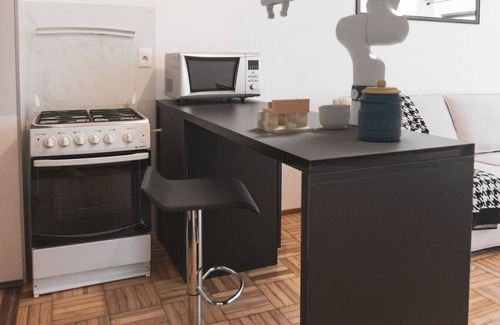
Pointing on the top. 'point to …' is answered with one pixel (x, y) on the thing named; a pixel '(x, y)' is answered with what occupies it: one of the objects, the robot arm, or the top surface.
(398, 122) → the canister
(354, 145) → the top surface
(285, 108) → the orange angled block
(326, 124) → the teacup
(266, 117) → the wooden block stack
